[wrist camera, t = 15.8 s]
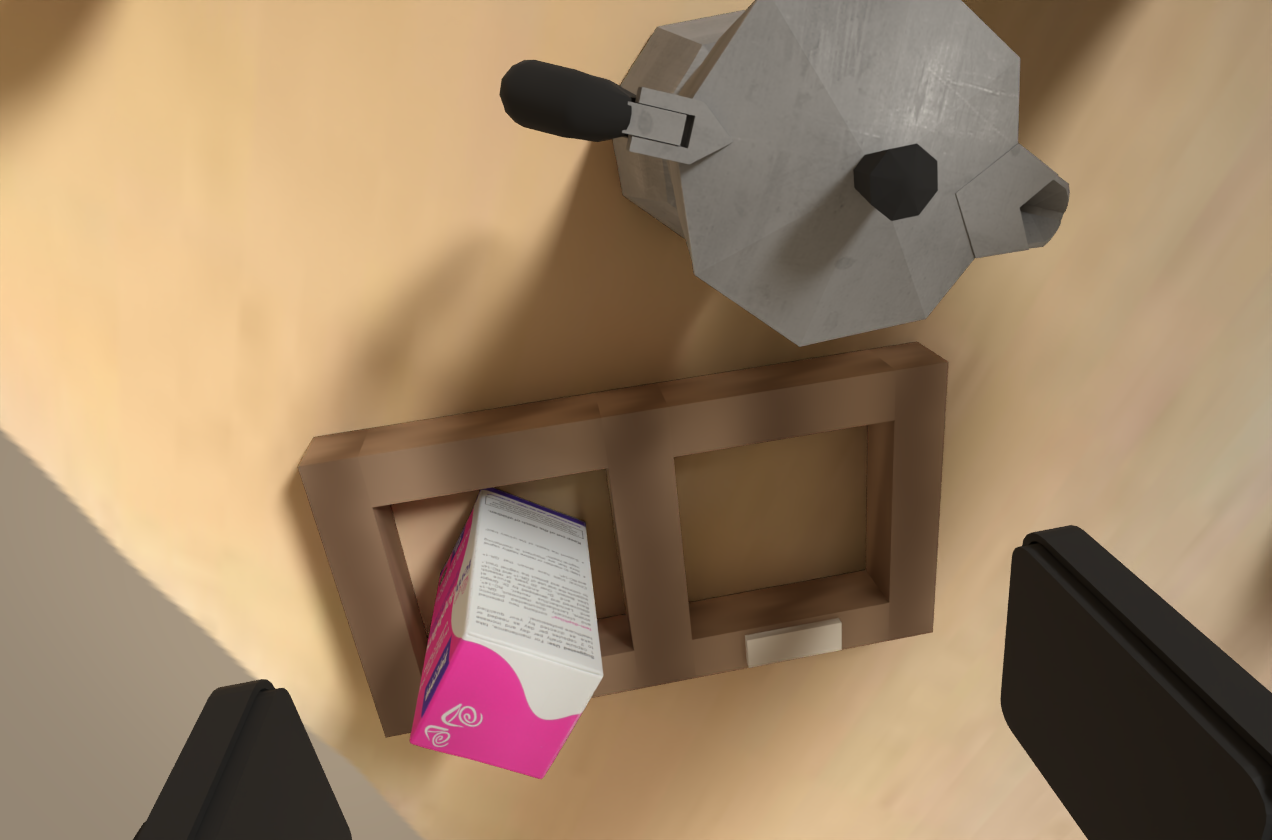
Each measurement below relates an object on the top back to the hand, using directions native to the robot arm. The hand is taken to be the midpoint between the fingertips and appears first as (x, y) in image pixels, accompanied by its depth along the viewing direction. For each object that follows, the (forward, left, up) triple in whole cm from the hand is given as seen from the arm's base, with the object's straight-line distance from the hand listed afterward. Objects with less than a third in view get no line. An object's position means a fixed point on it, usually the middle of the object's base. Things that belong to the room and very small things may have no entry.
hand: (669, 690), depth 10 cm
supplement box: (+4, +14, -27) cm, 31 cm away
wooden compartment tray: (-2, +14, -27) cm, 30 cm away
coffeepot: (-6, -5, -27) cm, 28 cm away
